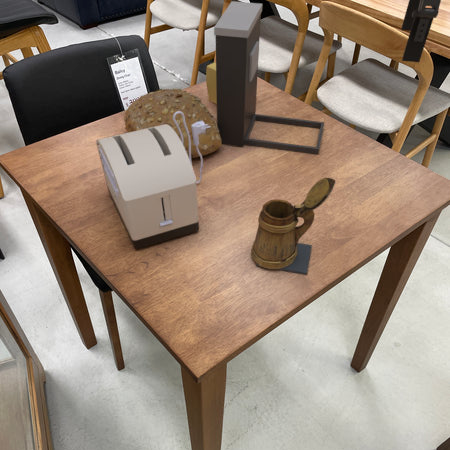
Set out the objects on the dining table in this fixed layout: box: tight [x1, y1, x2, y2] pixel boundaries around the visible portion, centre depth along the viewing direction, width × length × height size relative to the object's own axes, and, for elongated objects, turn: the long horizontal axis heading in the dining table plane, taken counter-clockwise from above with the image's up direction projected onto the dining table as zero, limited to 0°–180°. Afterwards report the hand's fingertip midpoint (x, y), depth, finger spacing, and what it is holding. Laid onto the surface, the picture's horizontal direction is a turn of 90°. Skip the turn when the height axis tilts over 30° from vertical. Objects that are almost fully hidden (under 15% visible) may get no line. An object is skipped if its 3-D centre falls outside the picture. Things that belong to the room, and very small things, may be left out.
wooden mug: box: [250, 177, 337, 270], centre depth 81 cm, size 9×14×18 cm, turn 86°
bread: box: [123, 88, 223, 159], centre depth 110 cm, size 24×21×12 cm
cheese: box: [205, 61, 217, 105], centre depth 125 cm, size 10×11×10 cm
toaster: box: [95, 111, 211, 250], centre depth 92 cm, size 23×25×17 cm
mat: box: [255, 242, 313, 276], centre depth 88 cm, size 10×8×1 cm
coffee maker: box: [213, 0, 325, 155], centre depth 107 cm, size 26×17×28 cm, turn 76°
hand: (409, 44), depth 77 cm, fingers open, 13 cm apart
